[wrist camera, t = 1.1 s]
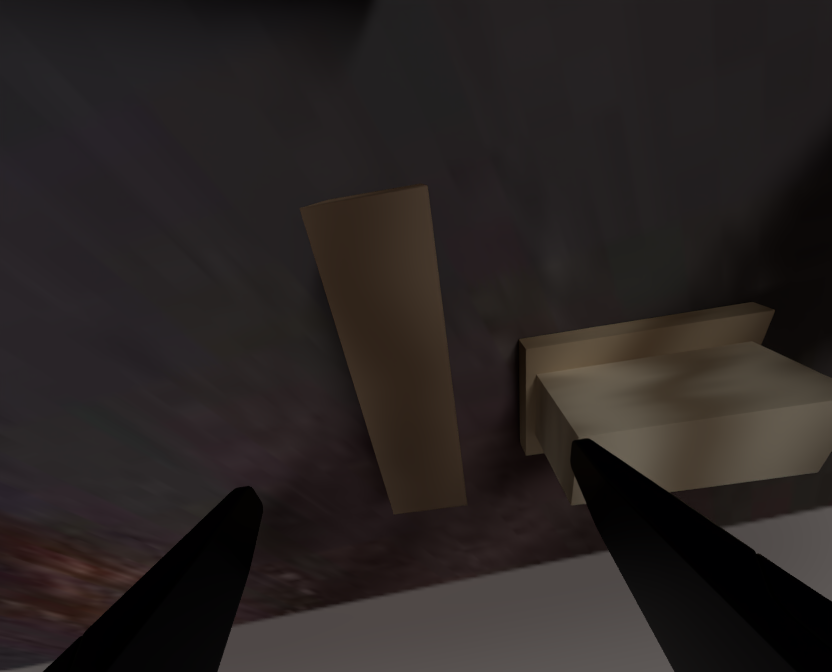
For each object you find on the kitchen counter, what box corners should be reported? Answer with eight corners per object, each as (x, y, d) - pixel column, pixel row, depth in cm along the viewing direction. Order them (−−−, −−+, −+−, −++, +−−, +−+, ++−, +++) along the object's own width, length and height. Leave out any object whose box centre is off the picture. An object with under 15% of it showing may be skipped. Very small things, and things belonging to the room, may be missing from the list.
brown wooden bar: (420, 183, 12) (427, 185, 8) (455, 441, 18) (467, 504, 15) (330, 199, 12) (299, 208, 9) (395, 449, 18) (393, 514, 15)
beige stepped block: (752, 301, 14) (907, 356, 10) (711, 414, 18) (814, 493, 13) (518, 339, 15) (567, 407, 10) (519, 442, 18) (557, 527, 14)
